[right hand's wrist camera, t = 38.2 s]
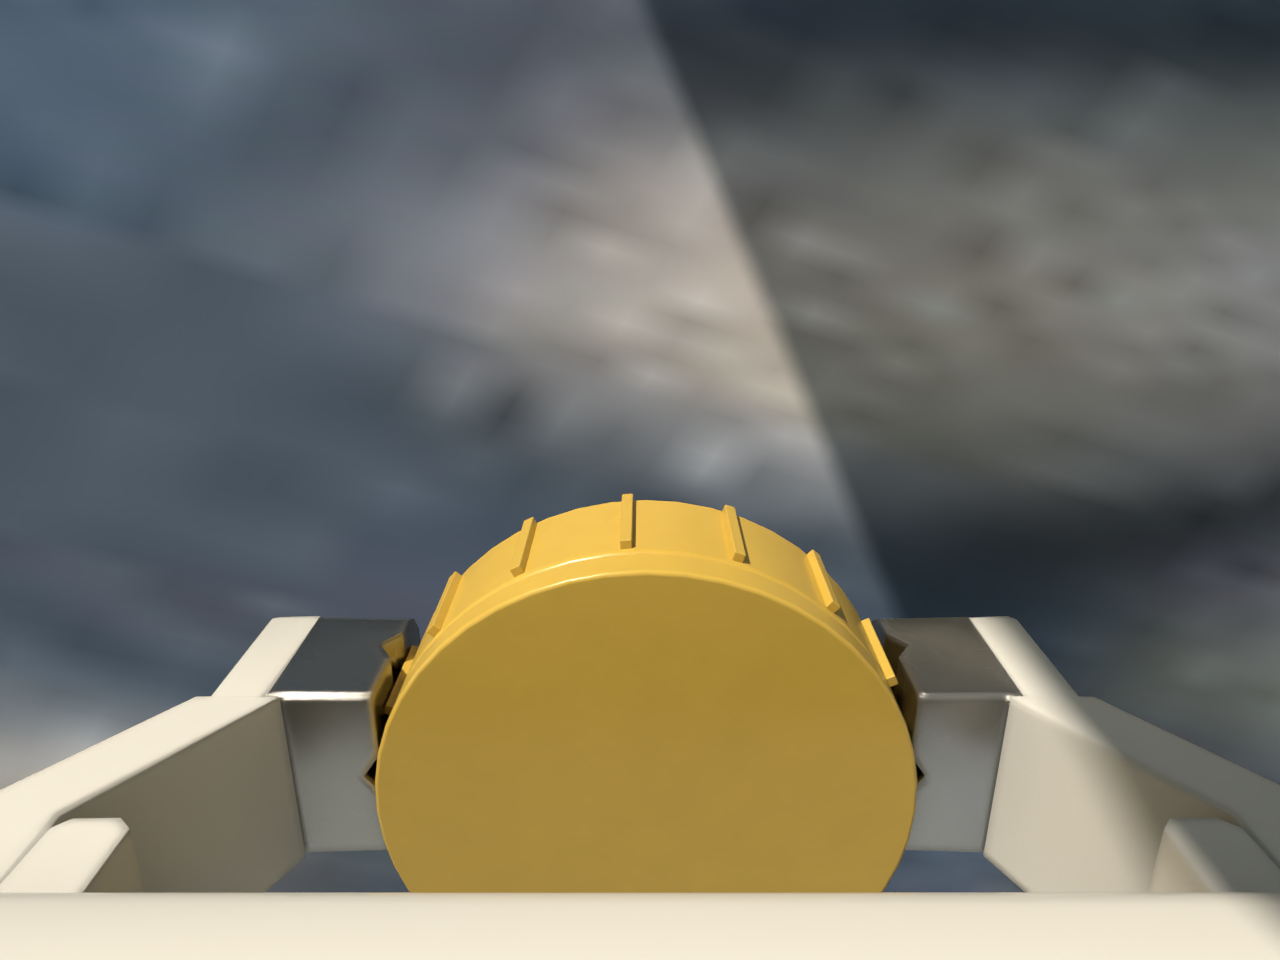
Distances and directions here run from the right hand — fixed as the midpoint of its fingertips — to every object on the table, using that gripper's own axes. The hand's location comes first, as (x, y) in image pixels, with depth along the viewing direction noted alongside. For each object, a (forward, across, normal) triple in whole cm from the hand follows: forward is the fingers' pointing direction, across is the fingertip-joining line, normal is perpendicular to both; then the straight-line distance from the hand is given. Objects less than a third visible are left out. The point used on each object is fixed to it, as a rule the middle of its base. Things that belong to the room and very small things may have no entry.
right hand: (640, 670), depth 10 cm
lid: (-2, 0, 0) cm, 2 cm away
